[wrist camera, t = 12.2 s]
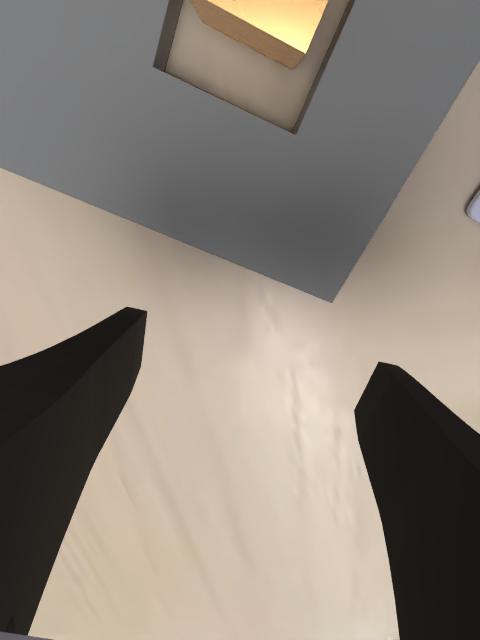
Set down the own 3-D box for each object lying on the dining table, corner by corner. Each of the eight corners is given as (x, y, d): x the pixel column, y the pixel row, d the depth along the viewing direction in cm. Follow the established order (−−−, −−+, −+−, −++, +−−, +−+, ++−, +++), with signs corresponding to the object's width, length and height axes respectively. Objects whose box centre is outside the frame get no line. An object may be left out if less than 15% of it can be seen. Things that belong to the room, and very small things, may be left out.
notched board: (511, -33, 14) (548, -54, 12) (325, 286, 20) (331, 303, 19) (16, -336, 11) (-29, -421, 9) (-15, 145, 18) (-45, 148, 16)
